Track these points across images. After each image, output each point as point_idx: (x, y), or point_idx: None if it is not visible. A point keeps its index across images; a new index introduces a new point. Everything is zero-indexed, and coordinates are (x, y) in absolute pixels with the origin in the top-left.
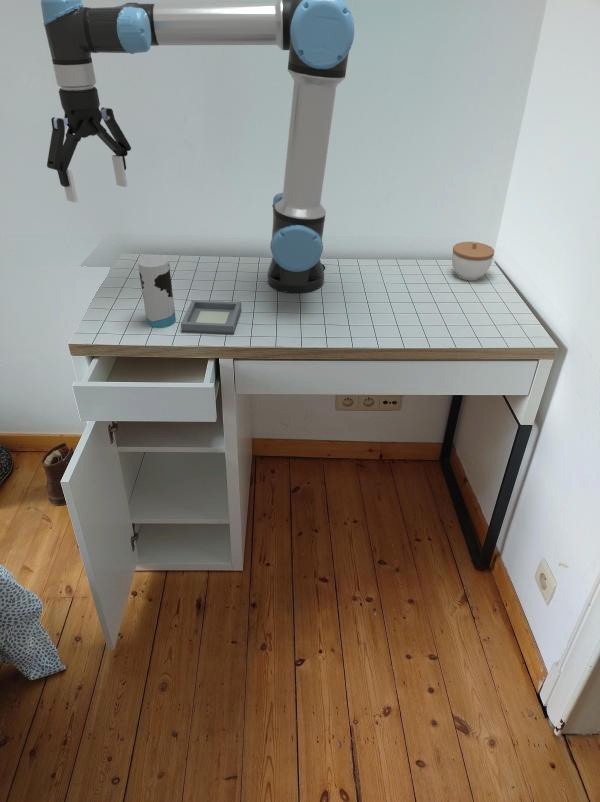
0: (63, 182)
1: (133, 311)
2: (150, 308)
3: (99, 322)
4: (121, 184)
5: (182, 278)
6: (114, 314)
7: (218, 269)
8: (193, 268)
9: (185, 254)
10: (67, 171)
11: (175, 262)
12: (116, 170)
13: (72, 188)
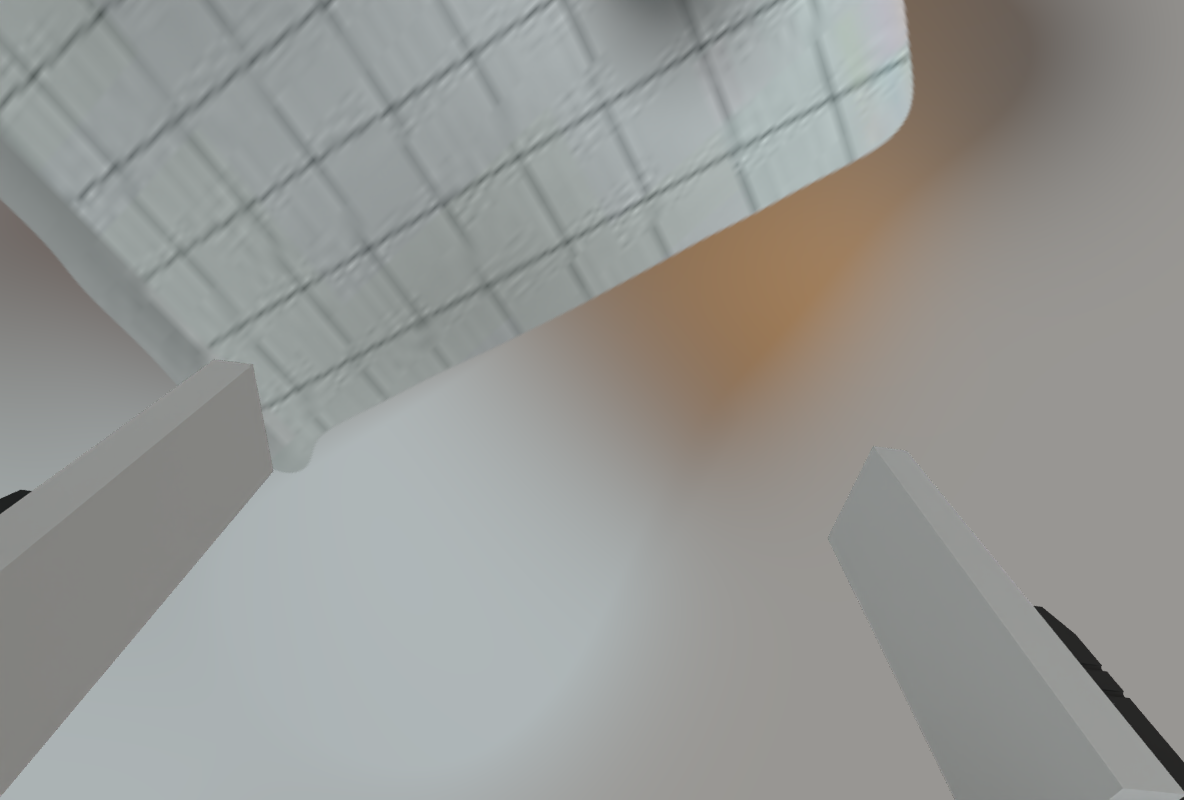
0: (1092, 669)
1: (621, 101)
2: None
3: (753, 161)
4: (248, 418)
5: (272, 123)
6: (676, 155)
7: (78, 22)
8: (170, 146)
9: (115, 271)
10: (1163, 796)
11: (196, 257)
12: (158, 561)
13: (983, 554)
